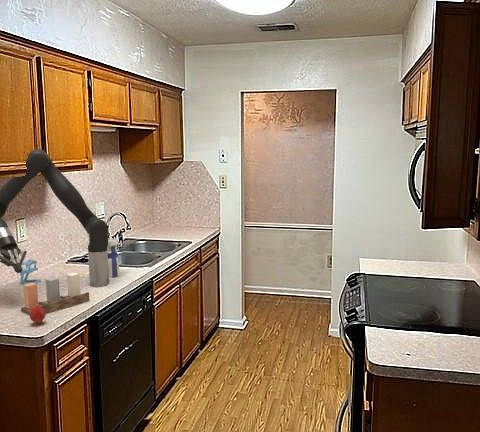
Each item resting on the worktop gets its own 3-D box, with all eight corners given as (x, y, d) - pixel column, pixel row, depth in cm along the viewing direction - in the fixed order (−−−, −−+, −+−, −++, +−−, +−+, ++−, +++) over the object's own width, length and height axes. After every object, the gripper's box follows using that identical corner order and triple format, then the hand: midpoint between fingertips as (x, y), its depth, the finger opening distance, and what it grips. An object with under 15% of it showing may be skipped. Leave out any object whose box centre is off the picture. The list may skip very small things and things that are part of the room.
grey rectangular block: (55, 298, 219) (54, 277, 218) (60, 300, 217) (58, 278, 215) (47, 301, 216) (45, 279, 215) (51, 303, 214) (50, 280, 212)
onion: (27, 325, 194) (25, 305, 193) (37, 320, 199) (36, 301, 198) (38, 327, 192) (37, 307, 190) (49, 322, 197) (47, 302, 196)
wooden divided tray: (76, 296, 229) (75, 287, 228) (89, 301, 222) (89, 292, 221) (21, 311, 209) (20, 302, 209) (33, 317, 202) (33, 307, 202)
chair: (26, 280, 254) (24, 257, 252) (41, 281, 252) (39, 258, 250) (17, 284, 247) (15, 261, 245) (32, 285, 245) (30, 262, 243)
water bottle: (108, 279, 256) (105, 231, 252) (101, 275, 262) (99, 229, 258) (123, 276, 260) (121, 229, 256) (116, 272, 267) (114, 227, 263)
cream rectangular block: (75, 293, 227) (74, 272, 225) (80, 295, 224) (79, 274, 223) (67, 295, 224) (66, 274, 222) (72, 297, 221) (71, 275, 220)
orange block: (33, 304, 212) (32, 282, 210) (38, 306, 209) (36, 284, 208) (24, 307, 209) (23, 284, 207) (29, 309, 206) (27, 286, 205)
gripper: (-9, 237, 211) (6, 270, 205) (22, 232, 221) (37, 264, 215) (-13, 247, 215) (1, 280, 209) (17, 242, 225) (32, 273, 219)
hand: (19, 271), depth 212 cm, fingers closed
